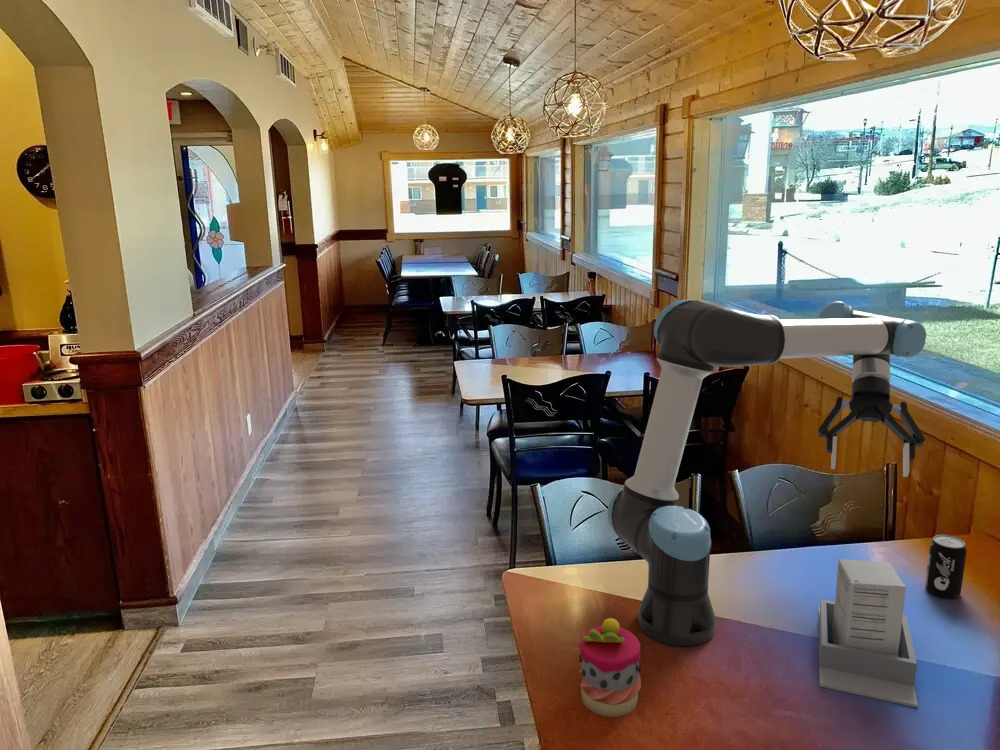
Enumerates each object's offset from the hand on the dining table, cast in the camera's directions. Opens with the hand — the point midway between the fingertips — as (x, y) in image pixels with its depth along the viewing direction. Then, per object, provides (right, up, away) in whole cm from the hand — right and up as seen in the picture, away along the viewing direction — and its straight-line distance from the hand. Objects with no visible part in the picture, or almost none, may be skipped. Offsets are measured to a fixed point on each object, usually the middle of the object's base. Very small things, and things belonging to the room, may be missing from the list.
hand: (869, 470), depth 148 cm
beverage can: (+18, -27, +5) cm, 33 cm away
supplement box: (-9, -32, -15) cm, 37 cm away
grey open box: (-9, -32, -15) cm, 37 cm away
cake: (-58, -36, -24) cm, 73 cm away
